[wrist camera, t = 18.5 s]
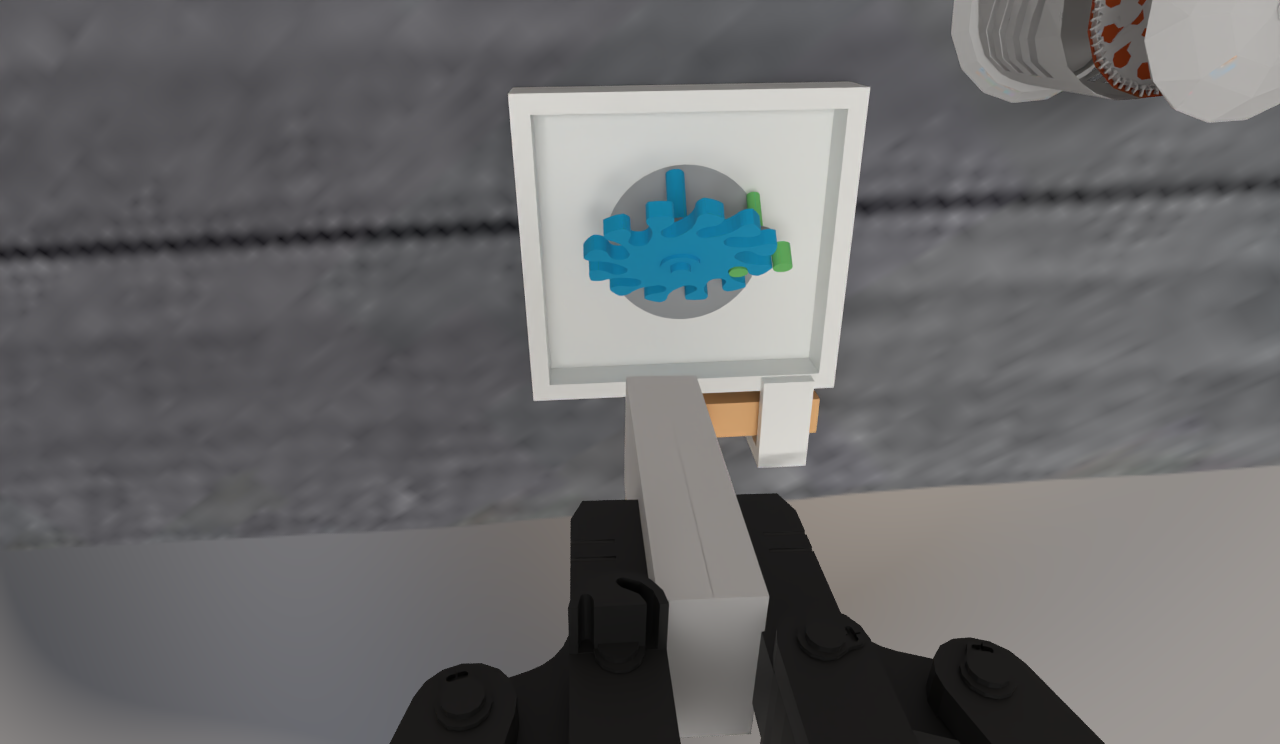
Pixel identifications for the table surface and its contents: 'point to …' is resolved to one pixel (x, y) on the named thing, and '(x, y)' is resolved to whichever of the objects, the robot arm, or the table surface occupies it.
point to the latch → (742, 412)
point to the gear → (685, 247)
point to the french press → (1126, 51)
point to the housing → (713, 168)
